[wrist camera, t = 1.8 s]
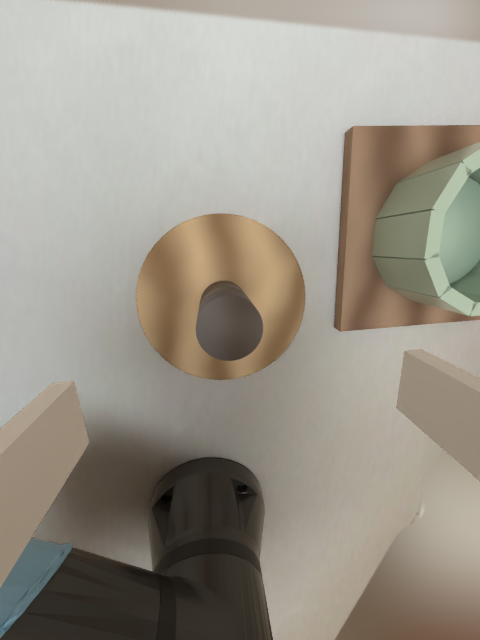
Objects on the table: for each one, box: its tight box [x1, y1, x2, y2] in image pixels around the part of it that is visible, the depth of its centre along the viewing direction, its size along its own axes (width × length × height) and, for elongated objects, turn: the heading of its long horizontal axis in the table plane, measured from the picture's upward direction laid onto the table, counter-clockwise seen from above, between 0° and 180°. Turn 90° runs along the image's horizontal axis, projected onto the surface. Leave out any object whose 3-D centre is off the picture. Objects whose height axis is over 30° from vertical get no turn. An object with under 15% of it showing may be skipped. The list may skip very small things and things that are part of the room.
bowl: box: [372, 142, 480, 316], centre depth 24 cm, size 14×14×7 cm
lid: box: [136, 214, 305, 380], centre depth 24 cm, size 18×18×10 cm
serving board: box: [334, 125, 480, 331], centre depth 28 cm, size 20×20×2 cm
